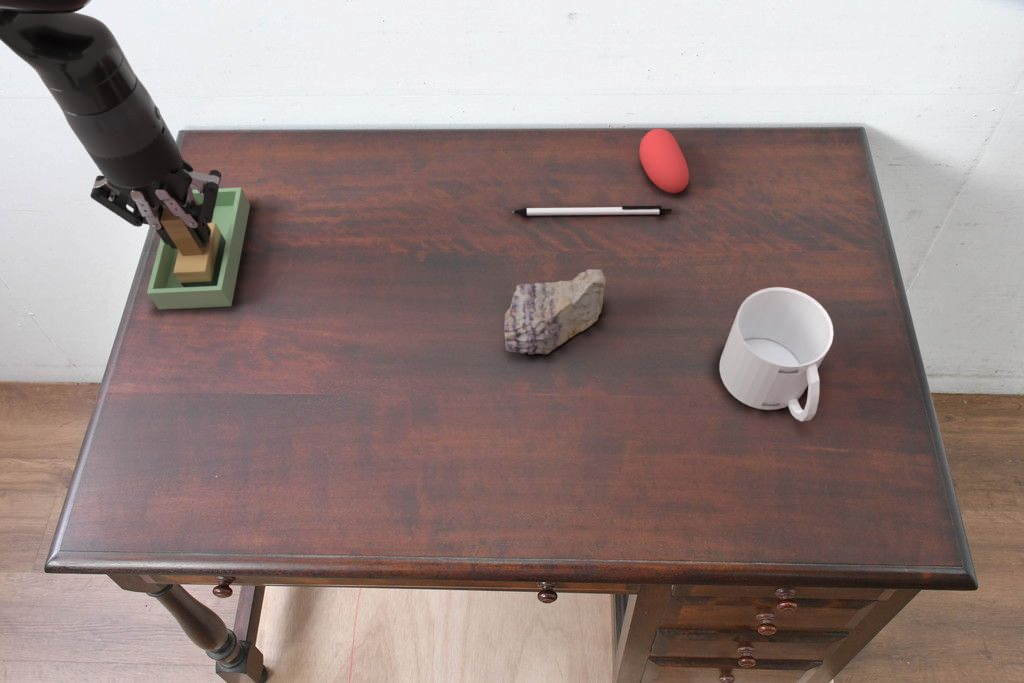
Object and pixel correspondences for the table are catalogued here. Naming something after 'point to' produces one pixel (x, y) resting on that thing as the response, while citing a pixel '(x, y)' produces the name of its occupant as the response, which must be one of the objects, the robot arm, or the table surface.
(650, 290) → the table surface
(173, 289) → the tray
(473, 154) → the table surface
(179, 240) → the scrub brush
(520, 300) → the mineral specimen
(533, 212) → the pen
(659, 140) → the stress ball
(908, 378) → the table surface
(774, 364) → the mug
